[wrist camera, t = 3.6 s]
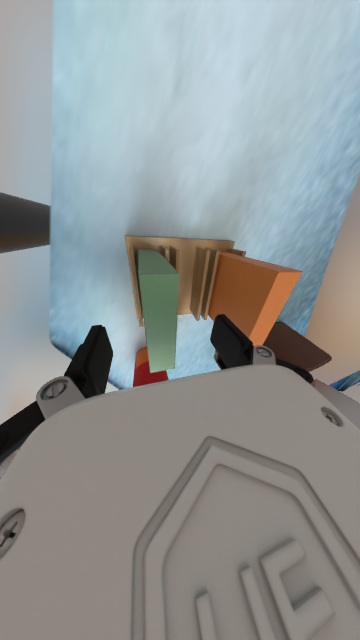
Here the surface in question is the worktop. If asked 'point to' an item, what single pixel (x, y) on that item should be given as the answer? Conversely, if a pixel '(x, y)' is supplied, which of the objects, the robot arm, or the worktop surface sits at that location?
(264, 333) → the orange book
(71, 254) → the worktop surface
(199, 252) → the book rack
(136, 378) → the coffee cup
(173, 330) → the green book
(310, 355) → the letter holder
